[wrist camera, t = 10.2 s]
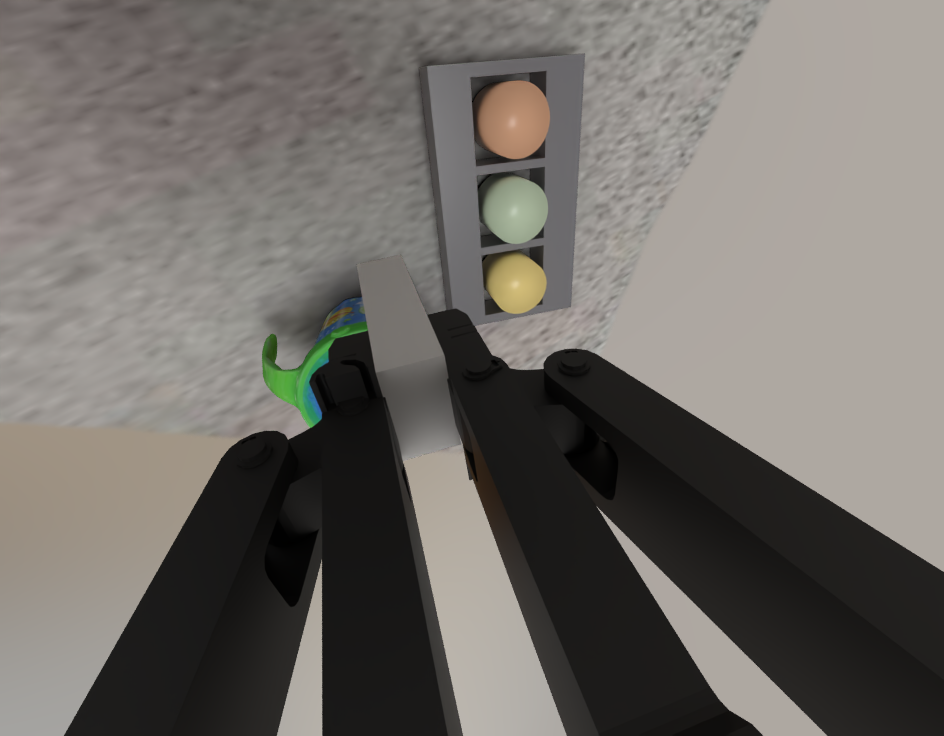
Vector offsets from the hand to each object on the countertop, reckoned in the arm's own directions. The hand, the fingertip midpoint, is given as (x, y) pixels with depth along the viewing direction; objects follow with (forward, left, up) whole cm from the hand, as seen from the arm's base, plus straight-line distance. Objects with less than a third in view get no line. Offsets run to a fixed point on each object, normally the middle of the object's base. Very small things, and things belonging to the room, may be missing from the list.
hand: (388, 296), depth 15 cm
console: (+2, +11, -22) cm, 25 cm away
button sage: (+2, +11, -21) cm, 24 cm away
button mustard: (+8, +11, -21) cm, 25 cm away
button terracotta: (-4, +11, -21) cm, 24 cm away
